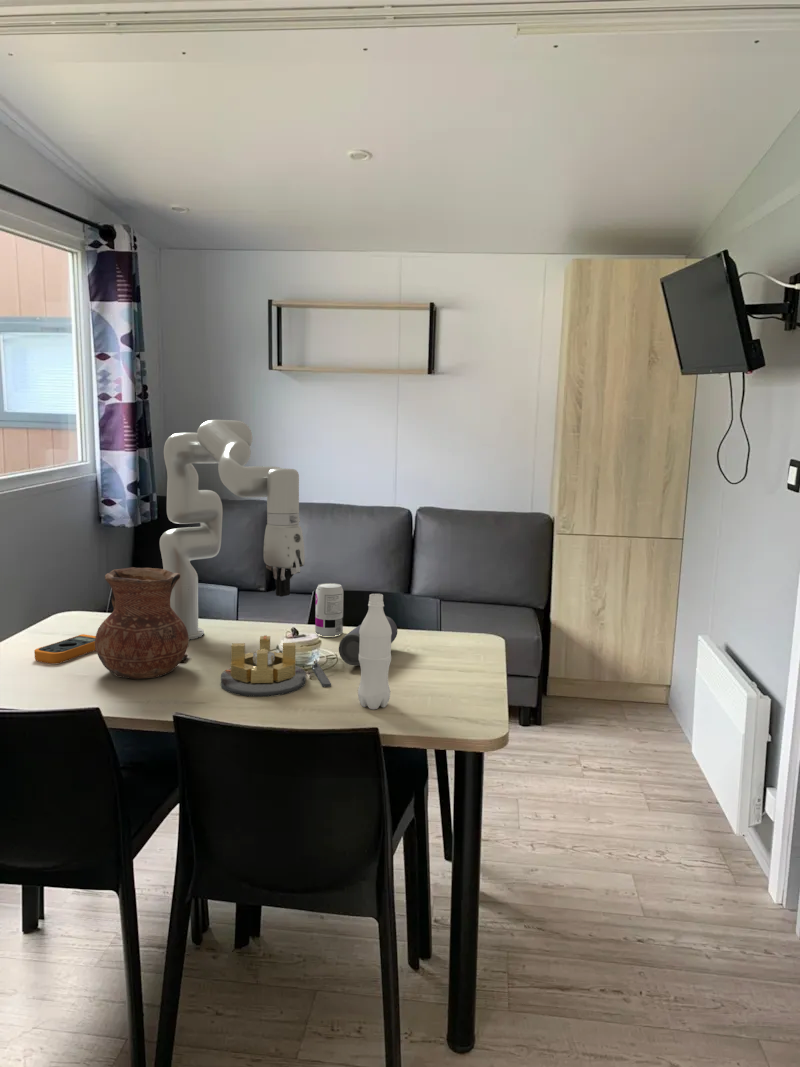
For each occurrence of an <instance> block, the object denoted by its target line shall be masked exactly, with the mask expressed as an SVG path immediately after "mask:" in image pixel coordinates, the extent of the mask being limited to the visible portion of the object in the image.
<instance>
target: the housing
mask: <svg viewBox="0 0 800 1067" xmlns="http://www.w3.org/2000/svg"><path fill="white" fill-rule="evenodd" d="M255 652H256V653H255ZM255 652H253V653H254V654H253V666H257V651H255ZM273 652H274V651H270V652H269V651H268V666H273V665H274V653H273ZM306 678H307V675H306V671H305V670H304V669H303V668H301V667H300V666H297V665H295V676H293V677H292V678H289V679H286V680H283V681H280V682H276V681H273V683H251V681H250V682H247V683H246V682H243V681H240V680H237V679H234V678H232V677H231V667H230V668H228V669H227V668H226V669H225V670H224V671H223V672H221V674H220V686H221V688H222V689H223V690H224V691H225V692H228V693H230V694H233V695H237V696H244V697H255V698H256V697H257V698H259V697H260V698H262V697H264V698H265V697H277V696H283V695H286V694H291V693H294V692H296V691H299V690H300V689H302V688H304V686H305V685H306V681H307V679H306Z"/></svg>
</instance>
